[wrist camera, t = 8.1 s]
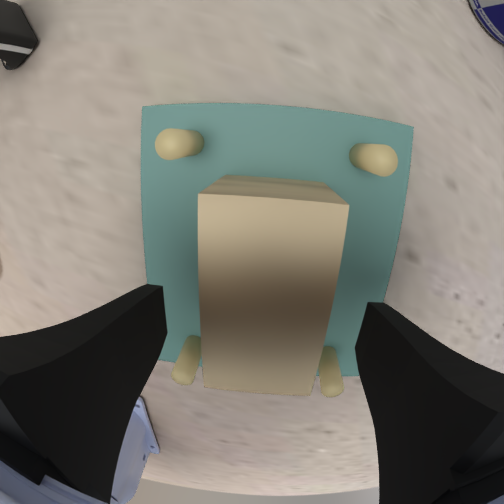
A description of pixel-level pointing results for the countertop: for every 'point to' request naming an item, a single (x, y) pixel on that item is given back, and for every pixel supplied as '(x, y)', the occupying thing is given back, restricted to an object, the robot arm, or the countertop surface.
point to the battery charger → (14, 35)
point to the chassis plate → (275, 166)
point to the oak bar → (267, 281)
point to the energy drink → (490, 16)
